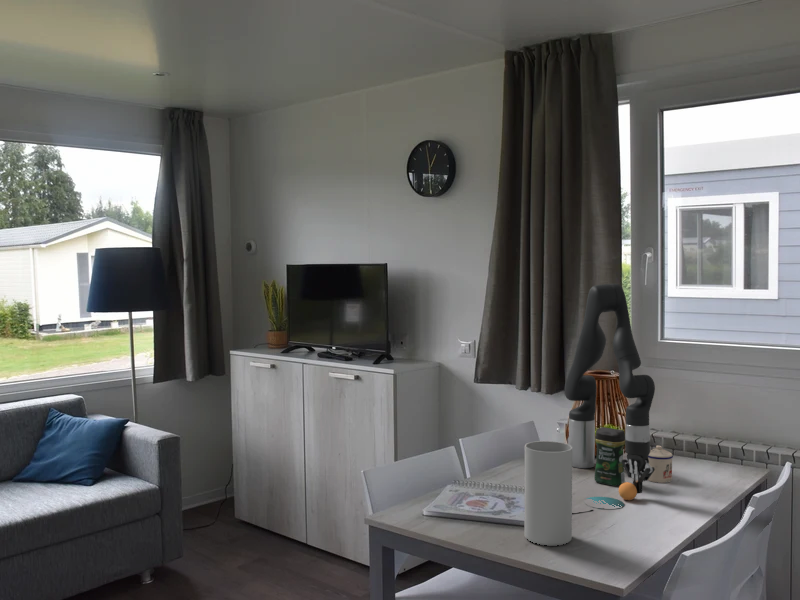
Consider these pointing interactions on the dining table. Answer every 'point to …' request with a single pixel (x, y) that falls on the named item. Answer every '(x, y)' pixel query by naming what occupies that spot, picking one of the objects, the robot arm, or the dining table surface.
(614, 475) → the coffee jar
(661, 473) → the teacup with lid
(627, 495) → the ball
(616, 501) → the teal mark
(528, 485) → the cylinder vase
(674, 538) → the dining table surface
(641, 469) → the robot arm
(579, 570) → the dining table surface
